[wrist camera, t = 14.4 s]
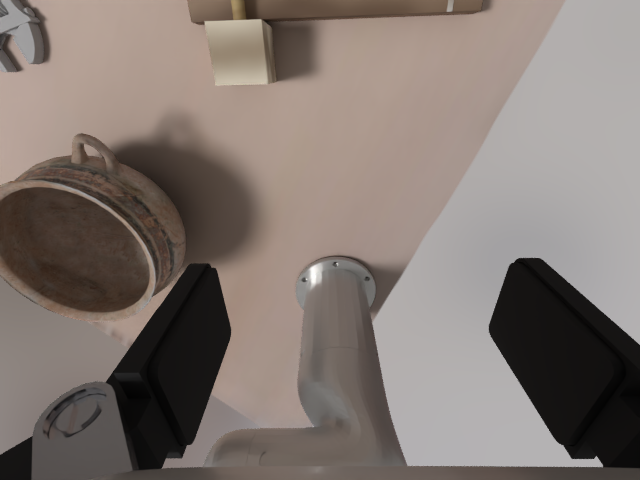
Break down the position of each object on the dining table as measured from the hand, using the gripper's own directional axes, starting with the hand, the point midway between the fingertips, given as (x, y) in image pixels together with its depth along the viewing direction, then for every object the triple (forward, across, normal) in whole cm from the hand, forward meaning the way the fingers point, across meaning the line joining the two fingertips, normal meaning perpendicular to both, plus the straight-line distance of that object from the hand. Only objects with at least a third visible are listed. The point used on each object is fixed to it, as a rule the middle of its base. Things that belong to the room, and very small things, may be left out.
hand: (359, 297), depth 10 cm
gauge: (+30, +9, -10) cm, 33 cm away
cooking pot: (+31, +28, +10) cm, 43 cm away
